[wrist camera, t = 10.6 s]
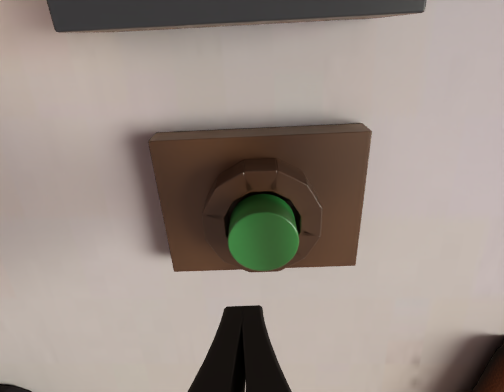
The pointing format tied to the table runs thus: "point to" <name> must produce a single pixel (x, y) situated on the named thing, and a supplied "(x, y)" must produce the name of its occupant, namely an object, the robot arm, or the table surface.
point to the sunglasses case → (493, 374)
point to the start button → (263, 232)
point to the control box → (262, 189)
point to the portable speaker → (11, 389)
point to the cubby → (213, 13)
